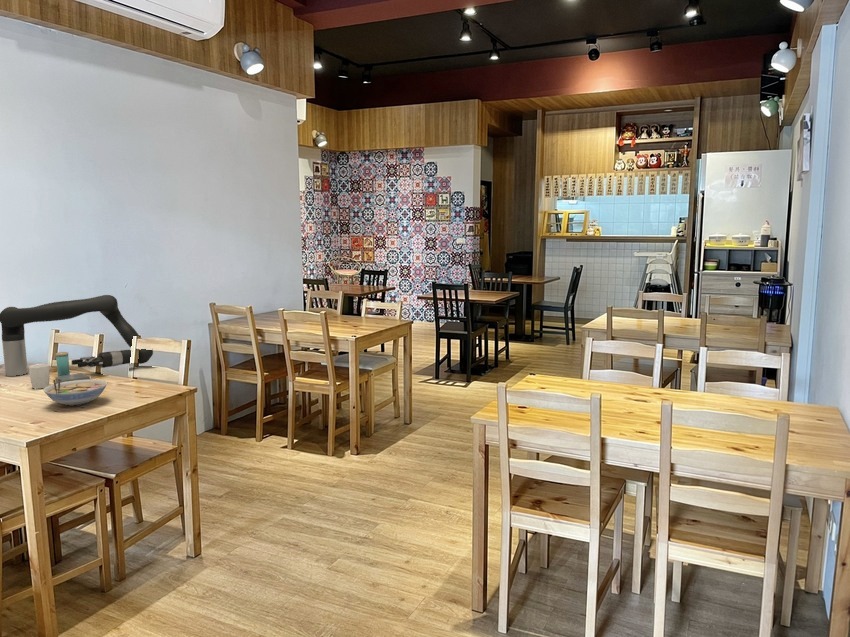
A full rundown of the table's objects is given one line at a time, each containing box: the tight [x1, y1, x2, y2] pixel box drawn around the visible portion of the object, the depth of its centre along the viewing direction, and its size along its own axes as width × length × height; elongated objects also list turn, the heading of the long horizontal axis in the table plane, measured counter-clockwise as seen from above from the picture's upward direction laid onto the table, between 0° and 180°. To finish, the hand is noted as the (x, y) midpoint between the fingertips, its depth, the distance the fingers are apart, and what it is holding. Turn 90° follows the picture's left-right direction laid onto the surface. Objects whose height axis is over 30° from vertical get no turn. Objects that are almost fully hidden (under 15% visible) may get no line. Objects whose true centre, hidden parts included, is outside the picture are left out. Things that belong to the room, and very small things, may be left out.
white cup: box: [28, 363, 51, 390], centre depth 278 cm, size 8×8×10 cm
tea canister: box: [55, 351, 71, 377], centre depth 292 cm, size 5×5×13 cm
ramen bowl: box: [42, 379, 108, 407], centre depth 252 cm, size 25×23×8 cm
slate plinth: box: [54, 372, 91, 384], centre depth 285 cm, size 11×11×4 cm
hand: (74, 363), depth 296 cm, fingers open, 8 cm apart
